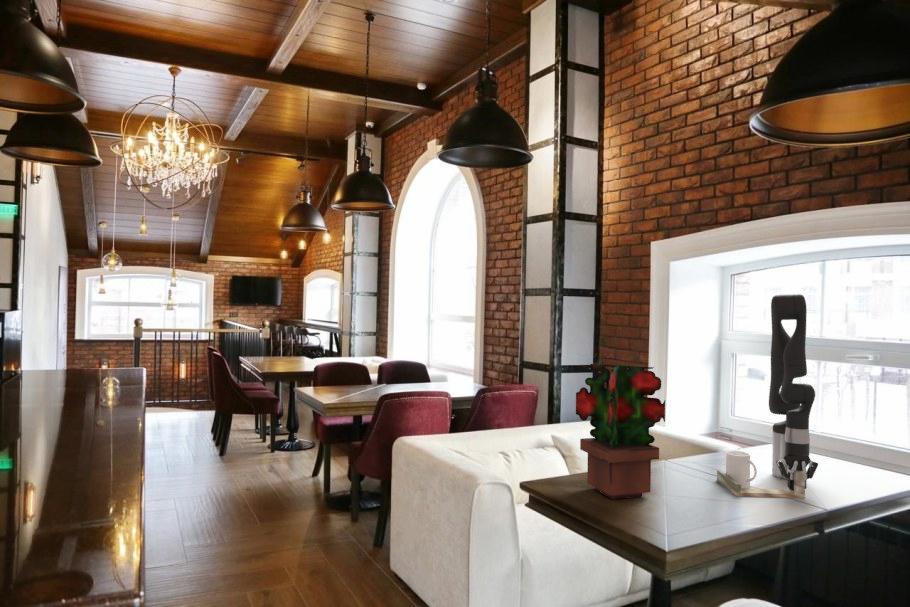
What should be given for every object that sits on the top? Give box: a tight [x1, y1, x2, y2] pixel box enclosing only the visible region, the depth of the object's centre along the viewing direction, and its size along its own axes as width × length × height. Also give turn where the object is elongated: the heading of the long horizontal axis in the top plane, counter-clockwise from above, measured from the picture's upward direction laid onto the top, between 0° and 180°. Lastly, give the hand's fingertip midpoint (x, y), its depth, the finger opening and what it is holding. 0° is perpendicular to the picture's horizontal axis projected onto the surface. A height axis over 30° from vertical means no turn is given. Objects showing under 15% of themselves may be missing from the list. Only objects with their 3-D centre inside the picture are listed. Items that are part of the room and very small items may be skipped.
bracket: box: [716, 469, 806, 499], centre depth 224 cm, size 23×19×9 cm
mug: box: [725, 450, 757, 489], centre depth 227 cm, size 12×8×12 cm
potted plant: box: [575, 363, 666, 500], centre depth 218 cm, size 22×22×45 cm
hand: (796, 489), depth 216 cm, fingers closed on bracket, 3 cm apart
